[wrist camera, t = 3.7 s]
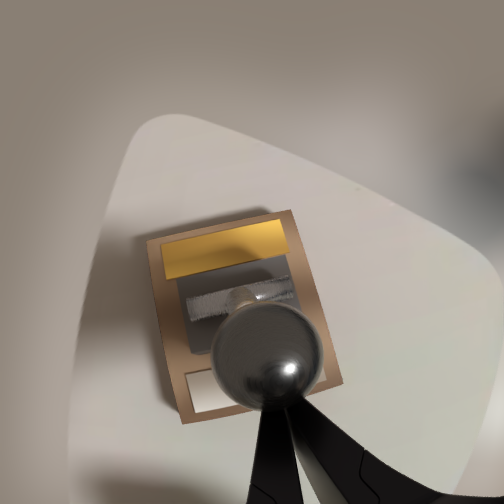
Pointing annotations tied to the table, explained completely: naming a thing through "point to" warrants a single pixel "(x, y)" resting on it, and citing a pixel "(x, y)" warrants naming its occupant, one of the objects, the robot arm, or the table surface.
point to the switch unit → (220, 278)
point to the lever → (261, 344)
